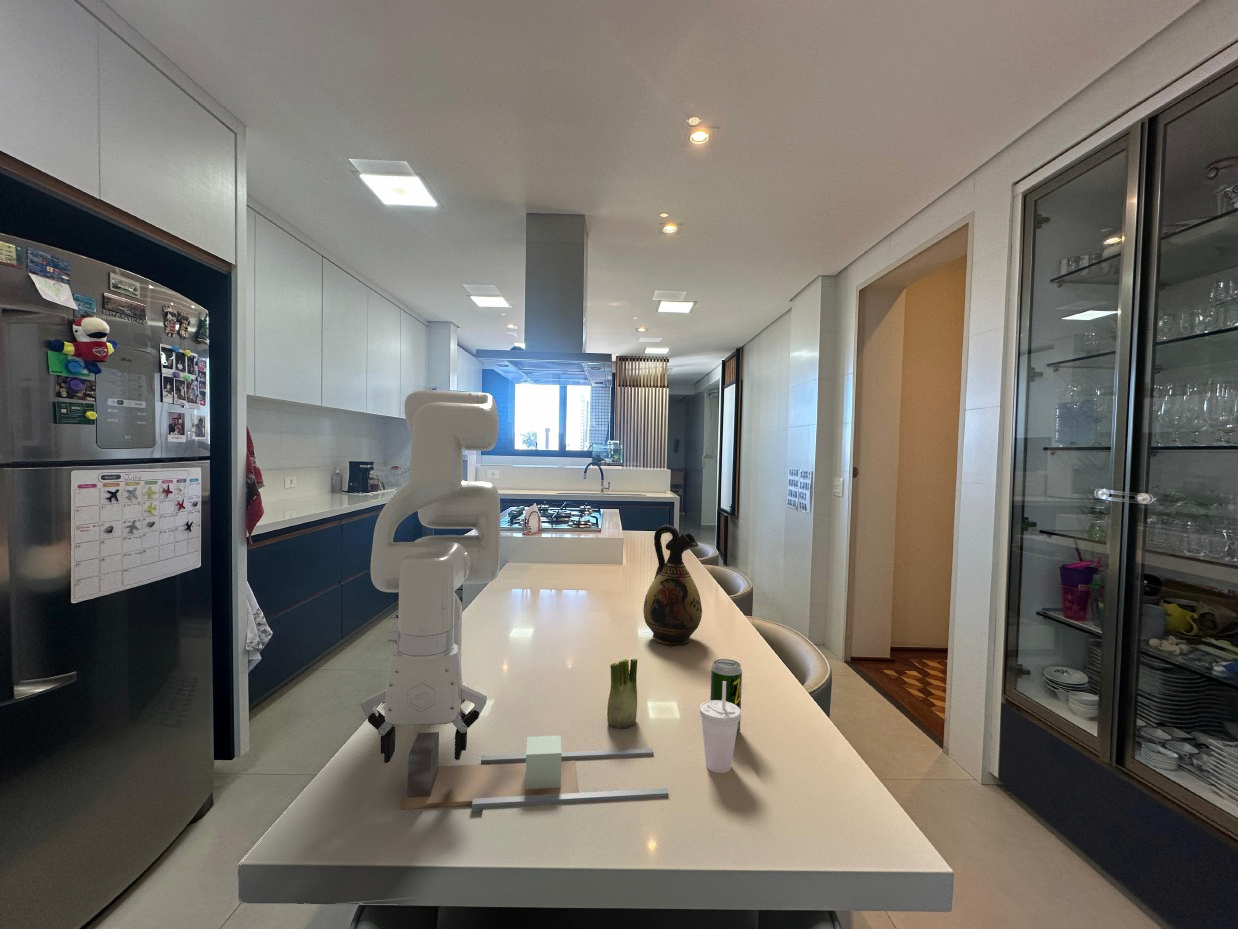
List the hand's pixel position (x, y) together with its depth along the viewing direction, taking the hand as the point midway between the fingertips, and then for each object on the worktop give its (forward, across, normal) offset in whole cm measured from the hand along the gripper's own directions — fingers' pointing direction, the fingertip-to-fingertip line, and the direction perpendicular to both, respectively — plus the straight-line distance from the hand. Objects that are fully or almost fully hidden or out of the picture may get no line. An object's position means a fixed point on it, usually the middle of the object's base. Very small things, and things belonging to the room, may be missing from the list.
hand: (424, 756), depth 81 cm
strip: (+4, +10, -1) cm, 11 cm away
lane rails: (+4, +21, -1) cm, 22 cm away
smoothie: (+4, +44, 0) cm, 44 cm away
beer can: (+5, +49, +12) cm, 51 cm away
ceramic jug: (+6, +50, +61) cm, 79 cm away
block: (+4, +17, -1) cm, 17 cm away
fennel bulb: (+5, +31, +15) cm, 35 cm away
